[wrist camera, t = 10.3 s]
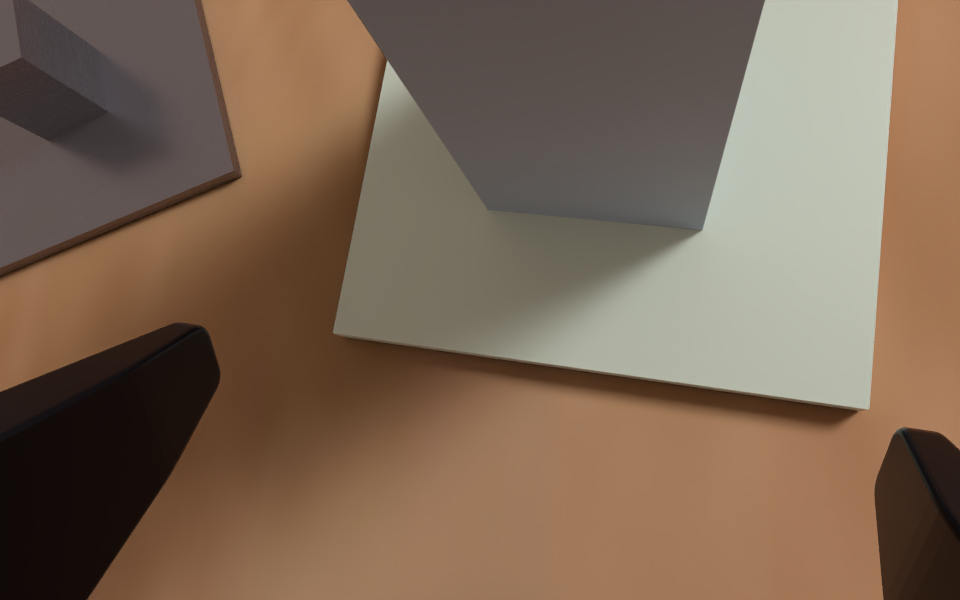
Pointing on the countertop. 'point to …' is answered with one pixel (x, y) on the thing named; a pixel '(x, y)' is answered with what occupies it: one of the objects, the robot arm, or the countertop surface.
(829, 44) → the mat
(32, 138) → the grey square base plate
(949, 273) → the countertop surface
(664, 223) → the gray pillar with knob
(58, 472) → the robot arm
